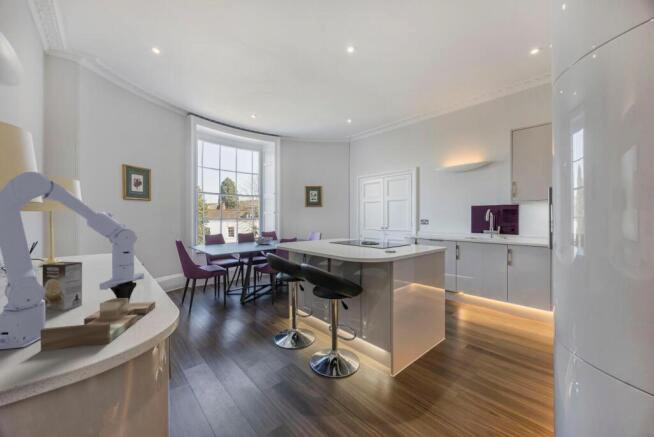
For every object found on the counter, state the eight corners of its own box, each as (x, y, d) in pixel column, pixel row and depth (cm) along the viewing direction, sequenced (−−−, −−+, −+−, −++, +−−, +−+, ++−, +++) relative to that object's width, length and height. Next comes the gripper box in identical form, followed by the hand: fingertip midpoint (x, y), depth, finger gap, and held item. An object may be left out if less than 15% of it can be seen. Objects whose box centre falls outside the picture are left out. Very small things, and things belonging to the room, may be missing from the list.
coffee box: (41, 310, 91) (40, 264, 91) (61, 304, 97) (61, 261, 97) (64, 310, 90) (64, 264, 90) (83, 304, 96) (83, 261, 96)
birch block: (116, 316, 79) (116, 303, 79) (99, 316, 79) (99, 303, 79) (128, 310, 84) (128, 298, 84) (112, 310, 84) (112, 298, 84)
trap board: (107, 343, 66) (107, 324, 66) (40, 350, 62) (40, 329, 62) (155, 306, 93) (155, 293, 93) (110, 310, 90) (110, 295, 90)
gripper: (131, 260, 93) (131, 298, 93) (90, 268, 79) (90, 313, 79) (149, 261, 92) (149, 299, 92) (111, 269, 78) (111, 314, 78)
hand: (123, 305), depth 86 cm, fingers closed
